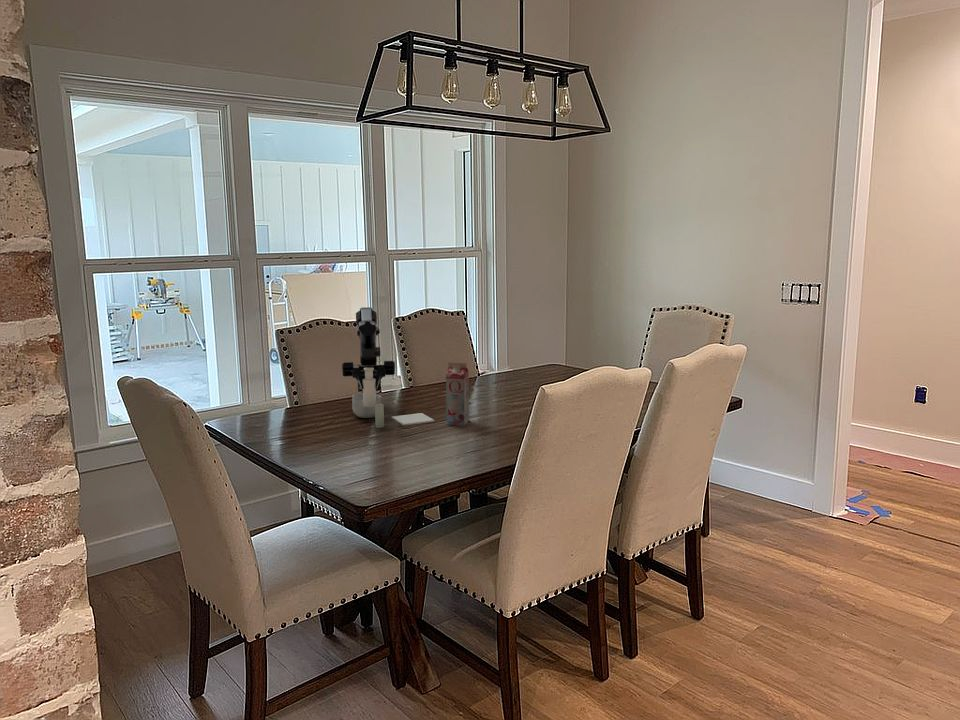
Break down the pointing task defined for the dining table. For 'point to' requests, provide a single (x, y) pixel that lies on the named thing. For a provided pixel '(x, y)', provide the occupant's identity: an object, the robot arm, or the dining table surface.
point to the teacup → (362, 410)
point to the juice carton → (457, 394)
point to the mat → (412, 419)
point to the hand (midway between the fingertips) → (369, 388)
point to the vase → (369, 388)
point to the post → (379, 415)
